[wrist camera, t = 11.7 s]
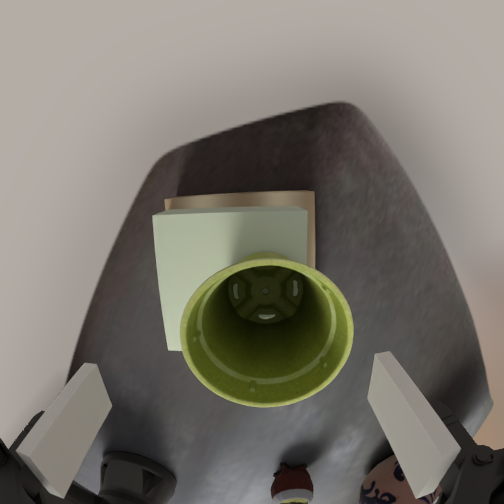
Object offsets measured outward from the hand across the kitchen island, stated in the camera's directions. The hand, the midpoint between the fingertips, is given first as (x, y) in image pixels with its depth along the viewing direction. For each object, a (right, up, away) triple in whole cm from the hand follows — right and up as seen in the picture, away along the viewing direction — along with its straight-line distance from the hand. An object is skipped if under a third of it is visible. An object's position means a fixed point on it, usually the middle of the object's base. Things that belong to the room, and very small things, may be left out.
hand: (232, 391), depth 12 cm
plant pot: (+2, +3, +12) cm, 12 cm away
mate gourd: (+8, -33, +30) cm, 45 cm away
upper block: (-1, +4, +16) cm, 17 cm away
